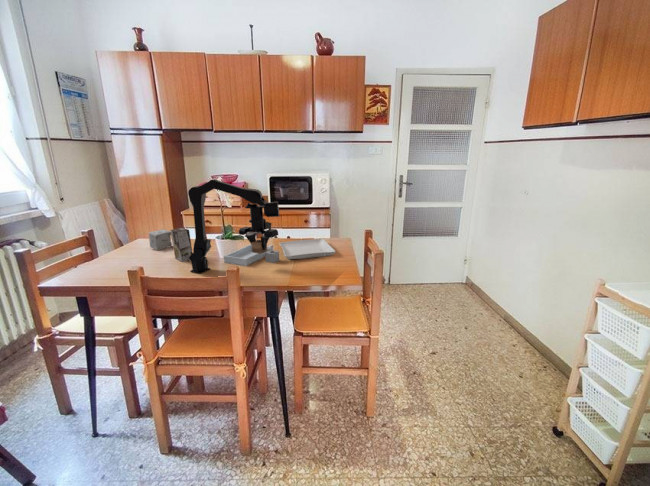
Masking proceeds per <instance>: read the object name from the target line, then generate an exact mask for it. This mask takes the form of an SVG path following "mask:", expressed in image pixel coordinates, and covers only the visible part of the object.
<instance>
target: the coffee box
mask: <svg viewBox="0 0 650 486" xmlns="http://www.w3.org/2000/svg"><path fill="white" fill-rule="evenodd" d="M169 231H170V232H171V235H170V238H171V243H172V247H173V248H172V249H173V251H174V259H175V258H176V259H175V260H177V261H179V262H187V261H190V259H189V257H190V256H191V254H192V253H193V248H192V247H193V246H192V241H191V240H192V239H191V235H190V229H187V228H184V227H177V228H174V229H170V230H169Z"/></svg>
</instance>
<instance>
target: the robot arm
mask: <svg viewBox="0 0 650 486" xmlns="http://www.w3.org/2000/svg"><path fill="white" fill-rule="evenodd" d="M213 190H217V191H220V192H224V193H227V194H231V195H234V196H237V197H240V198H242V199H243V200H244V201H246V202H248V203H247V204H246V206H245V207H244V208H245V209H249V213H250V215H249V216H250V219H249V222H248V223H251V224H250V226H244V227H239V230H238V234H239V235H240V236H244V237H245V238H246V239H247V240H248V242H249V243H250V245H252V242H254V241H256V240H257V239H256V237H257V235H262V236H261V237H260V240H261V243H262V247H263V250H265V249H266V246H268V241H269V239H272V238H274V237H277V236H279V230H277V229H275V228H272V224H273V223H272V222H268V221H266V218H273V217H275V218H276V217H278V218H279V217H280V208H279V202H278V201H273V202H268V201H267V200H266V199H265V198H264V197H263V194H262V191H261V190H259V189H257V188H256V189H255V188H249V187H246V188H245V187H241V186H237V185H234V184H232V183H227V182H225V181H221V180H219V179H217V178H216V179H215V178H214V179H213V178H212V179H210V180H209V181H207V182H206V183H203V184H201V185H196V186H193V187H191V188H189V189H188V191H187V193H188V197H189V202H190V204H191V206H192V207H193V208H192V210H193V223H194V232H195V233H194V234H195V240H194V243H193V248H192V254H191V256H190V257H189V259H190V260H189V262H191V268H192V269H190V273H195V274H203V273H205V272H207V271H209V270H210V269H211V267H209V264H208V258H207V255H208V253H209V252H210V250H211V248H212V245H211V240H212V239H211V238H209V239H208V237H207V233H206V220H205V203H206V198H207V194H208V193H210V192H211V191H213ZM264 216H266V218H264Z"/></svg>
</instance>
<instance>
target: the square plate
mask: <svg viewBox="0 0 650 486" xmlns="http://www.w3.org/2000/svg"><path fill="white" fill-rule="evenodd" d="M278 244H279V246H280V247H281V249H282V251H283V255H284V257H285V258H287V259H288V260H302V259H313V258H319V257H329V256H333V255H335V254H336V253H337V251H336V250H335V249H334V248H333V247H332V246H331V245H330V244H329V243H328V242H327V241H326V240H325V239H324V238H313V239H301V240H300V239H299V240H289V241H288V240H287V241H280V242H278Z"/></svg>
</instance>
